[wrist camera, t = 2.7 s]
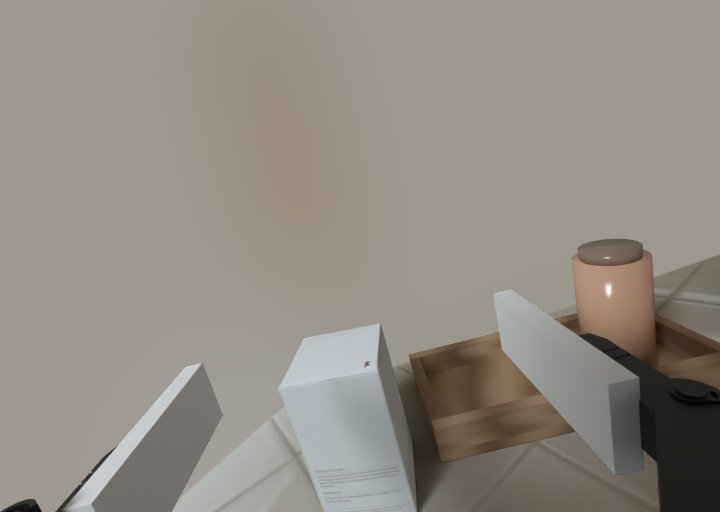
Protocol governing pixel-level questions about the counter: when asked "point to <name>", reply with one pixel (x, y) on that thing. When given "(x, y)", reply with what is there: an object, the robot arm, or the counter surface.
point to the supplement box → (351, 422)
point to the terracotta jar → (617, 295)
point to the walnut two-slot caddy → (524, 389)
